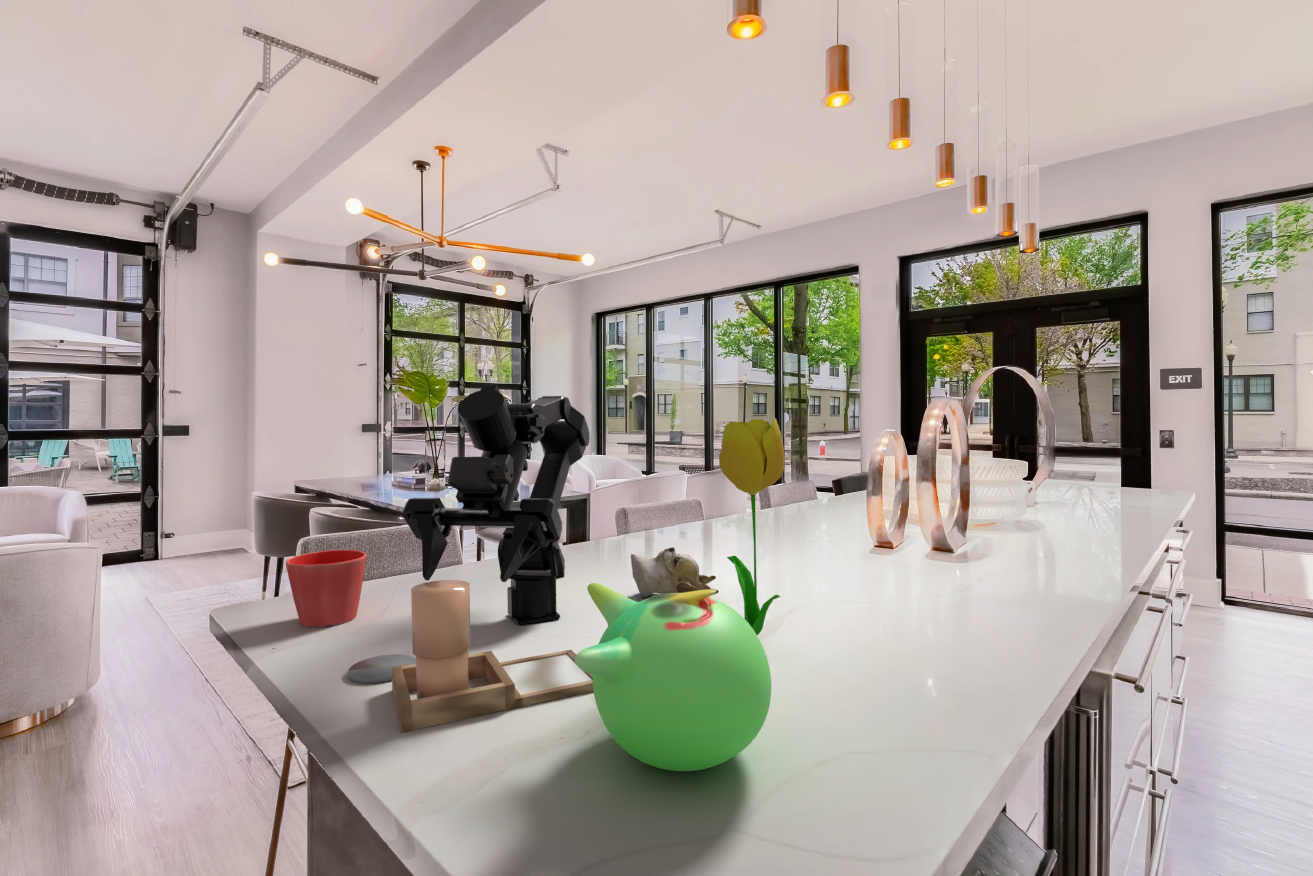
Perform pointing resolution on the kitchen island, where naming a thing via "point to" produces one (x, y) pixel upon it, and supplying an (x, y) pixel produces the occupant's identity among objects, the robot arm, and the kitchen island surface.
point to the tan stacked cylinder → (441, 636)
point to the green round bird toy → (677, 678)
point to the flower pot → (326, 586)
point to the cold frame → (491, 688)
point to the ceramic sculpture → (668, 574)
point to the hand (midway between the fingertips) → (463, 579)
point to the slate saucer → (378, 668)
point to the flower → (752, 490)
